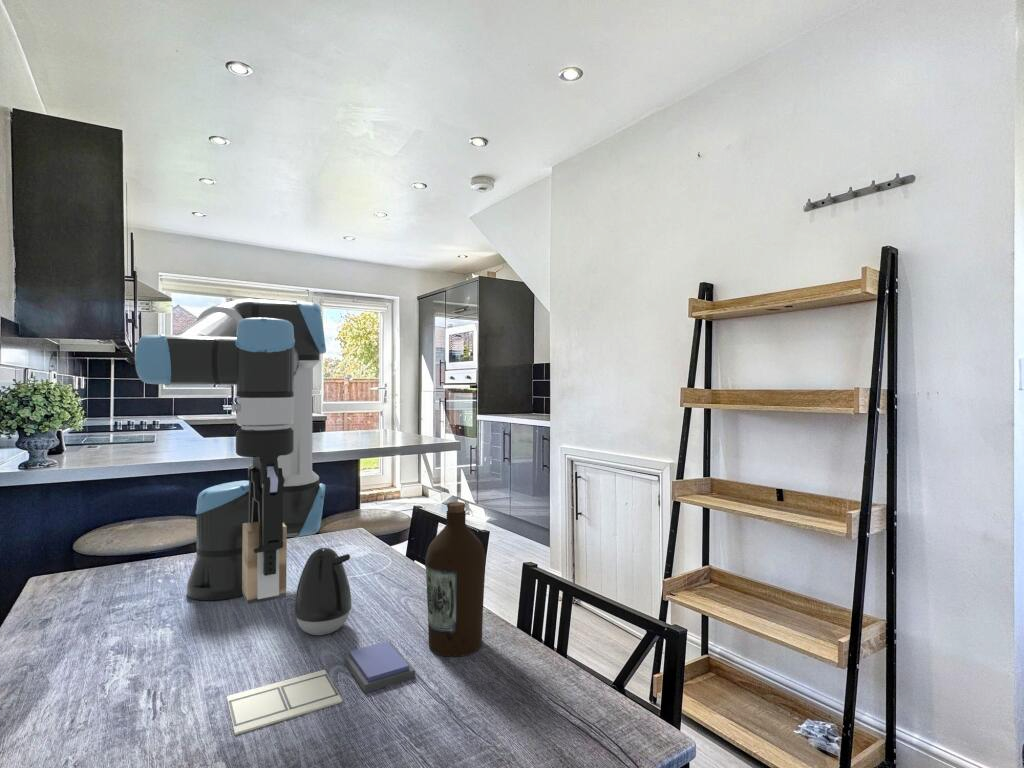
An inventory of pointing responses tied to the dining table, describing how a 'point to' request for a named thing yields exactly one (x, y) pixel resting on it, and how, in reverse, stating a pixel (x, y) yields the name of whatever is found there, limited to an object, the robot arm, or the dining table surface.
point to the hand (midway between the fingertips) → (264, 589)
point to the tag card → (281, 701)
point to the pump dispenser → (323, 593)
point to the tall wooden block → (250, 563)
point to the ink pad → (378, 666)
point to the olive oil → (455, 587)
